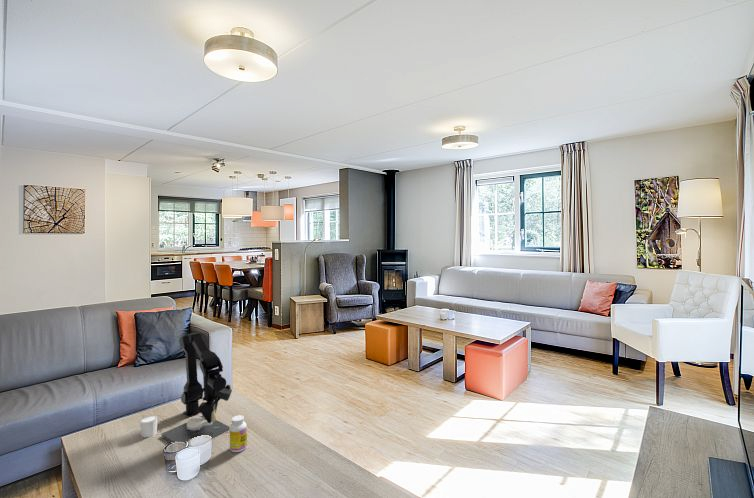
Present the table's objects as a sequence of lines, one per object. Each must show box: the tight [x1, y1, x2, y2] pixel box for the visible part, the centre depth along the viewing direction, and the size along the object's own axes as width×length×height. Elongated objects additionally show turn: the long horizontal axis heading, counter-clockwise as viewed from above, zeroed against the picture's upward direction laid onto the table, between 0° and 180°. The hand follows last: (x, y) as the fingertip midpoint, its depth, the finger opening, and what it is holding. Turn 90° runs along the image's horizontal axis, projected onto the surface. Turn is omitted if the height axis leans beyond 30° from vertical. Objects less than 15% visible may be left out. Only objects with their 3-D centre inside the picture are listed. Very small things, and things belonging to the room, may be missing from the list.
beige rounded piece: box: [186, 410, 217, 430], centre depth 162 cm, size 12×7×8 cm, turn 98°
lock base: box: [161, 415, 230, 444], centre depth 162 cm, size 20×20×3 cm
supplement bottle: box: [228, 414, 248, 453], centre depth 150 cm, size 7×7×13 cm
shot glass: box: [139, 414, 158, 439], centre depth 162 cm, size 7×7×7 cm
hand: (212, 418), depth 163 cm, fingers open, 7 cm apart
